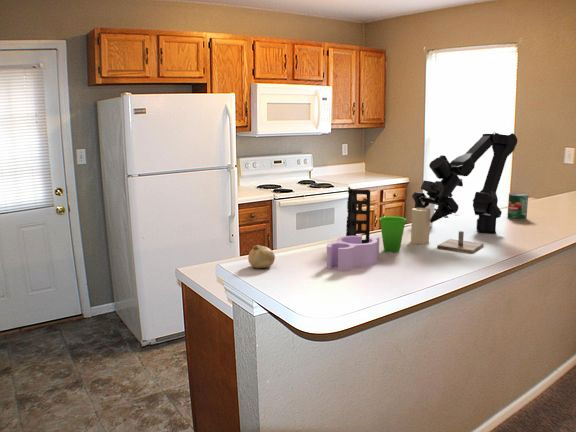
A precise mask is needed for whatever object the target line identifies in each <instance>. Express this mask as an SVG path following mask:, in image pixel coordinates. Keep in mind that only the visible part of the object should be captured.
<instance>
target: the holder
mask: <svg viewBox="0 0 576 432" xmlns="http://www.w3.org/2000/svg"><path fill="white" fill-rule="evenodd" d="M347 190H348V191H347V193H348V197H347V203H346V204H347V205H346V207H347V208H346V209H347V210H346V212H347V217H346V229H345V230H346V231H345V232H346V233H345V236H357V235H365V239H362V244H365V243H369V238H370V231H371V230H370V228H371V226H370V225H371V190H370V189H354V188H351V187H350V186H349V187H347ZM358 195H365V196H366V199H365V200H358ZM363 205H366V209H365V210H363ZM357 215H365V216H366V217H365V220H360V219H357ZM362 225H365V229H362Z"/></svg>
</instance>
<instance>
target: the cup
mask: <svg viewBox="0 0 576 432" xmlns="http://www.w3.org/2000/svg"><path fill="white" fill-rule="evenodd" d="M378 219H379V220H378V221H380V230H381V239H382V245H383V250H384V252H386V253H393V254H394V253H399V252H400V250H401V245H402V242H403V241H402V240H403V235H404V229H405V226H406V225H405V224H406V221H407V218H405V217H401V216H394V215H393V216H392V215H391V216H389V215H388V216H381V217H379V218H378Z"/></svg>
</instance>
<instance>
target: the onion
mask: <svg viewBox="0 0 576 432" xmlns="http://www.w3.org/2000/svg"><path fill="white" fill-rule="evenodd" d="M247 259H248V263H249V265H250V266H251V267H253V268H255V269H260V268H261V269H262V268H263V269H270V268H271V266H272V265H273V264H274V263H275V260H276V256H275V253H274V251H272V249H271V248H269V247H267V246H264V245H260V244H256V245H253V247H252V249H251V250H250V251H249V253H248V258H247Z"/></svg>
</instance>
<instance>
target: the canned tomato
mask: <svg viewBox="0 0 576 432" xmlns="http://www.w3.org/2000/svg"><path fill="white" fill-rule="evenodd" d="M507 203H508V207H507V219H508V220H512V221H526V220H528V219H527V218H528V215H527V214H528V203H529V194H528V193H524V192H510V193H508V202H507Z"/></svg>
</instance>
